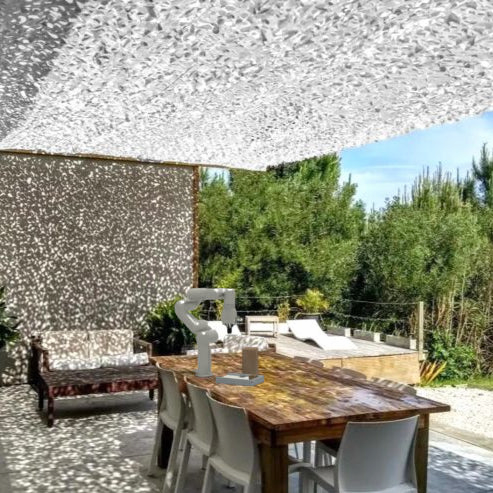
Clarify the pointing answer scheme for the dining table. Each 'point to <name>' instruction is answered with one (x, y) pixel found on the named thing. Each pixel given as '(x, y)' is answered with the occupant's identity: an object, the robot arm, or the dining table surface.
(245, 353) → the block
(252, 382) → the trap box
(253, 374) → the walnut block
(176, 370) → the dining table surface
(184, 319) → the robot arm
